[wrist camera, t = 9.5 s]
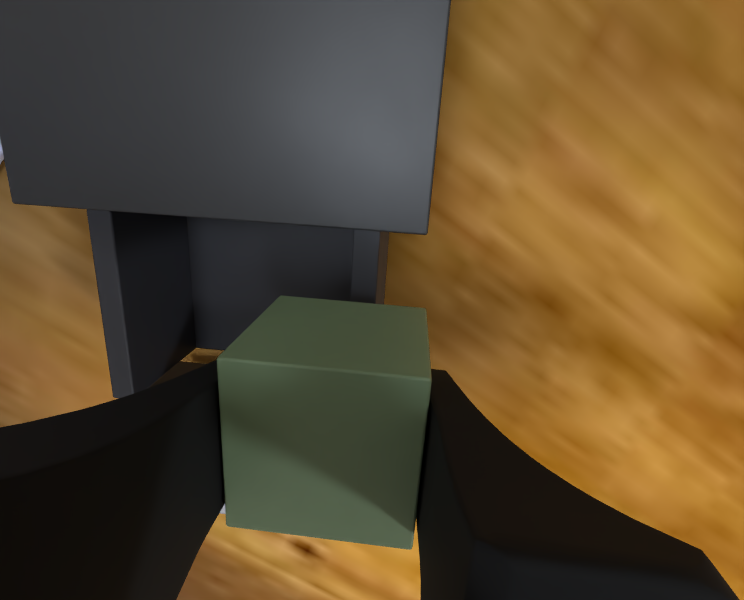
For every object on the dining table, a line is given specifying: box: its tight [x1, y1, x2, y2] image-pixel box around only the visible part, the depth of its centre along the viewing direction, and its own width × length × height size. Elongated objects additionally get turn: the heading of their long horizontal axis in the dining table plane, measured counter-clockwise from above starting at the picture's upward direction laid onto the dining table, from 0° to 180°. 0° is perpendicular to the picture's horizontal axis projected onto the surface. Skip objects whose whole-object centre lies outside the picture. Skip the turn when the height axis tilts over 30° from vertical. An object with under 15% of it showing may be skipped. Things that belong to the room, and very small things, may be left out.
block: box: [217, 296, 432, 550], centre depth 10 cm, size 4×4×4 cm
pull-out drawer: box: [87, 209, 389, 514], centre depth 17 cm, size 17×10×6 cm, turn 177°
